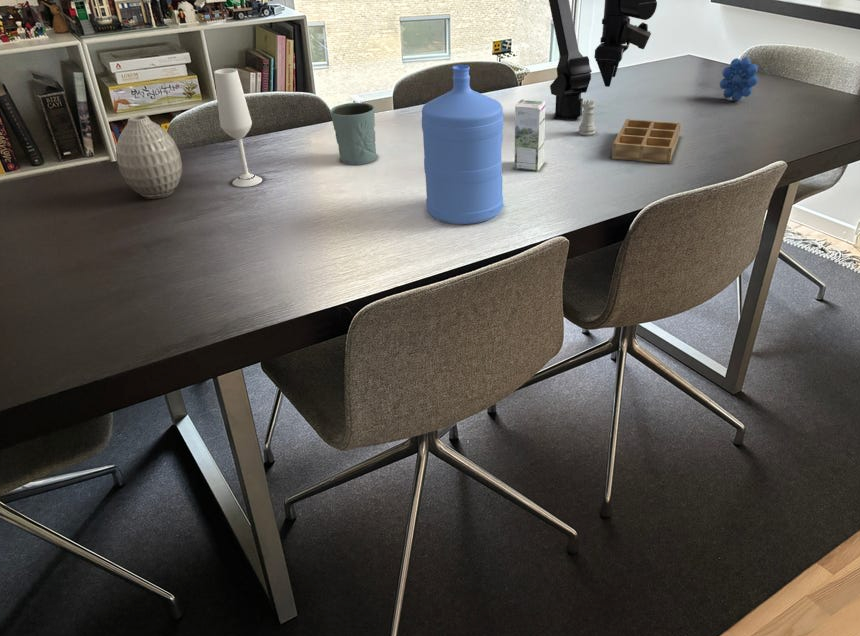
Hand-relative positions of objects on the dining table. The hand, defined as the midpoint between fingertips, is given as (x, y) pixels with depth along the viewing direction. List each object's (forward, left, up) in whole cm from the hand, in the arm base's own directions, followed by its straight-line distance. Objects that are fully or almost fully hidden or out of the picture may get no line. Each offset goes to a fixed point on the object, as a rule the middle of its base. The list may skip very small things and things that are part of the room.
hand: (610, 81), depth 186 cm
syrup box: (-12, -30, -13) cm, 35 cm away
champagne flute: (-71, -56, -13) cm, 92 cm away
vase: (-86, -68, -13) cm, 111 cm away
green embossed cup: (-53, -36, -13) cm, 66 cm away
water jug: (-18, -58, -13) cm, 62 cm away
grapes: (+31, +37, -13) cm, 50 cm away
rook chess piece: (-4, -3, -13) cm, 14 cm away
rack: (+12, -10, -12) cm, 20 cm away
